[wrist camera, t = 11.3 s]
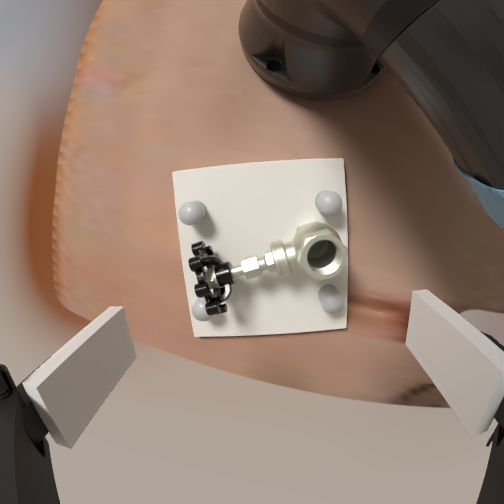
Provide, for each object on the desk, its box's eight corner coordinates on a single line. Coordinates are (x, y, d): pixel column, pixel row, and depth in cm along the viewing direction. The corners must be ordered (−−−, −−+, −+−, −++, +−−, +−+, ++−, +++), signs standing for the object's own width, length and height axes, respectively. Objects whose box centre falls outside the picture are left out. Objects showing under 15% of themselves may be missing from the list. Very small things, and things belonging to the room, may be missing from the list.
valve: (323, 200, 26) (200, 237, 28) (340, 204, 20) (180, 252, 21) (340, 266, 27) (222, 300, 29) (360, 290, 21) (210, 331, 22)
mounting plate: (175, 172, 27) (163, 170, 24) (340, 159, 26) (350, 155, 23) (196, 332, 31) (188, 348, 28) (344, 323, 30) (351, 339, 26)
